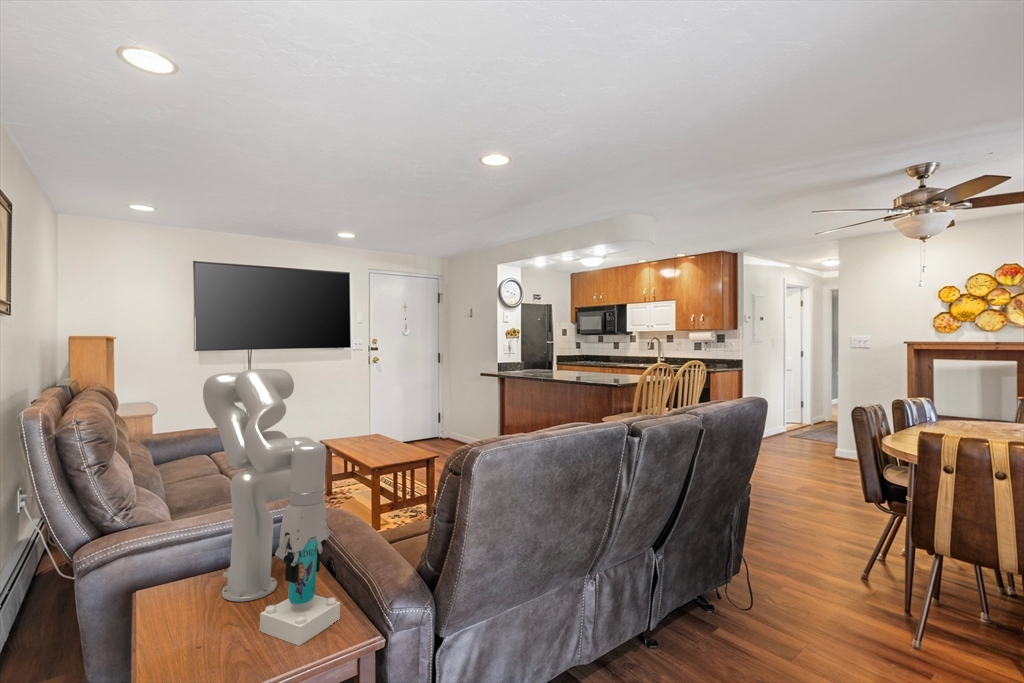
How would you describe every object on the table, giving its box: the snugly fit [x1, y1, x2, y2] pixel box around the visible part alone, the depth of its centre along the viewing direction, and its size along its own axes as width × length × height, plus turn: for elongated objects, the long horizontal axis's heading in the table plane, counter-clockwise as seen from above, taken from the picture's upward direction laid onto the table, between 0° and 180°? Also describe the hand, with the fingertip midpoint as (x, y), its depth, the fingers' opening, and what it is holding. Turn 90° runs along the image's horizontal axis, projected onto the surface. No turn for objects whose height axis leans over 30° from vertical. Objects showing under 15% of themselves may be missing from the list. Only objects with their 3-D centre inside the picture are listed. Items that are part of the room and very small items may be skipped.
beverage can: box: [287, 537, 318, 607], centre depth 116 cm, size 6×6×15 cm
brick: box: [258, 594, 341, 647], centre depth 116 cm, size 12×12×5 cm
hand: (302, 575), depth 116 cm, fingers closed on beverage can, 5 cm apart
